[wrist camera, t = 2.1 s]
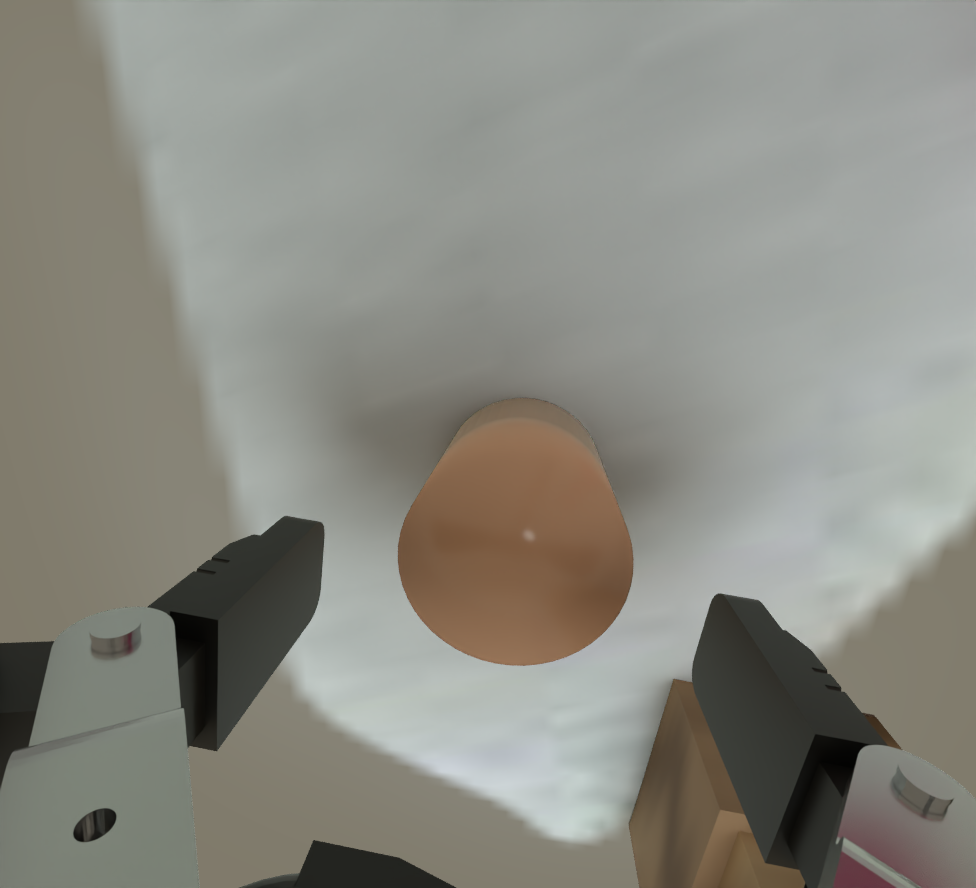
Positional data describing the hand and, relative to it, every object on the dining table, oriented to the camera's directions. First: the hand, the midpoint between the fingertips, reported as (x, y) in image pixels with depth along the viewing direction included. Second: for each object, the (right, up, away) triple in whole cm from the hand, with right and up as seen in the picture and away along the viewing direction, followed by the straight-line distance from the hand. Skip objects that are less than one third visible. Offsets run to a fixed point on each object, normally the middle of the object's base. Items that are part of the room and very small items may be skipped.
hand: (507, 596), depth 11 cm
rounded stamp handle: (+1, +2, +6) cm, 7 cm away
